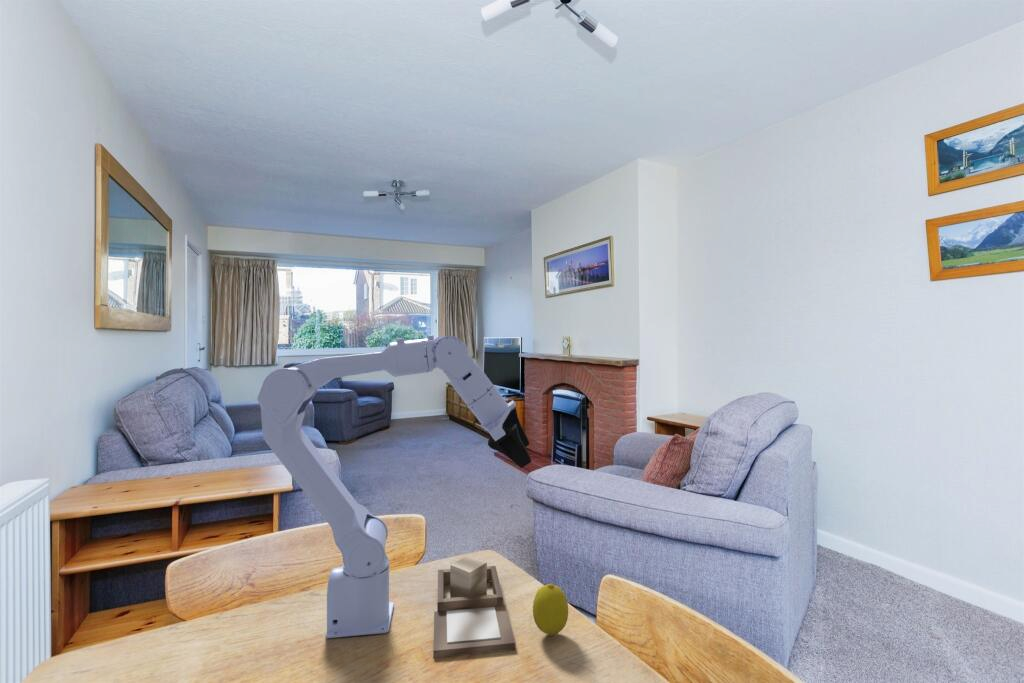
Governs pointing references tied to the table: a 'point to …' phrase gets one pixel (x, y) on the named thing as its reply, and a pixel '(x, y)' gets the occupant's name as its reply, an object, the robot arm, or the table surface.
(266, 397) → the robot arm
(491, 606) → the brown divided tray
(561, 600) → the lemon
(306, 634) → the table surface
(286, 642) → the table surface
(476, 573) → the block
